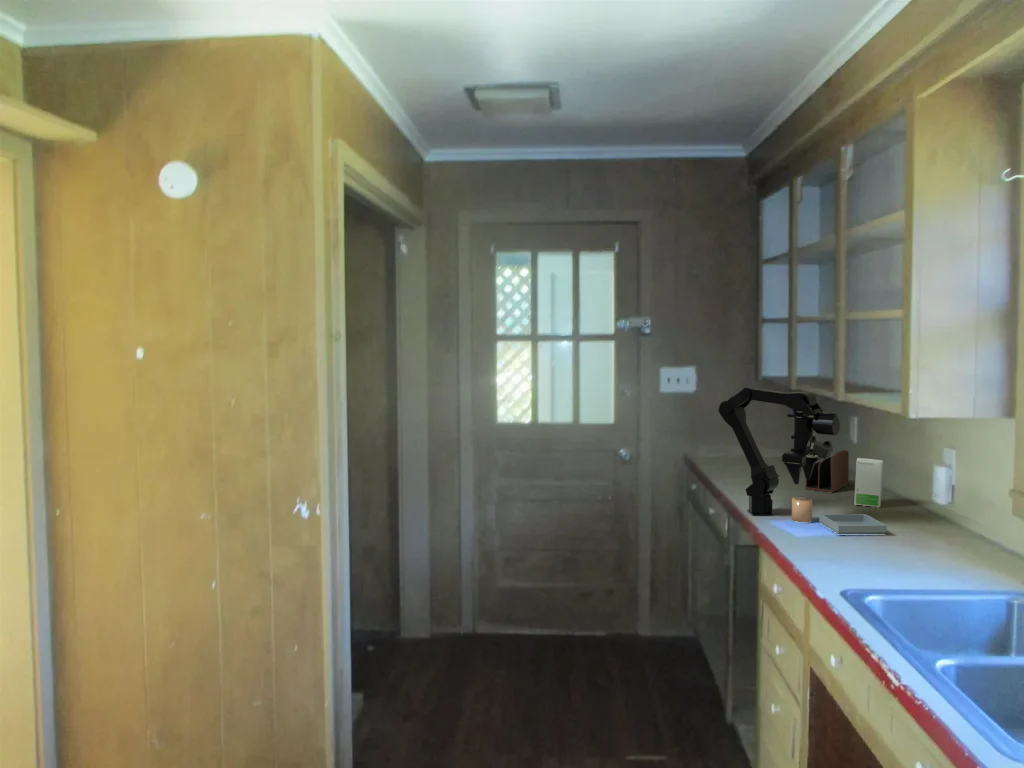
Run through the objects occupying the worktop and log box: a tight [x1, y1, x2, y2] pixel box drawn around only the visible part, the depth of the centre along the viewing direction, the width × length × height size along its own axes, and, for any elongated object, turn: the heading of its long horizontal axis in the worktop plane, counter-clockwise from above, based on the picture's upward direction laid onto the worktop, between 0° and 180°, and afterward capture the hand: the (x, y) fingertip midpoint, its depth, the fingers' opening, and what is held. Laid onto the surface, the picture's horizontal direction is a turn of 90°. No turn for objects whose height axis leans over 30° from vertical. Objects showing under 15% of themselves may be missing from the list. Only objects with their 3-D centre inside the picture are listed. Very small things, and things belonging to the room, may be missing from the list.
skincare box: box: [853, 457, 884, 508], centre depth 265 cm, size 8×7×16 cm
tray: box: [818, 513, 888, 535], centre depth 235 cm, size 14×14×3 cm
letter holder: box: [804, 450, 850, 493], centre depth 295 cm, size 10×20×14 cm, turn 141°
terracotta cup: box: [791, 496, 813, 522], centre depth 246 cm, size 6×6×7 cm
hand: (802, 481), depth 245 cm, fingers open, 9 cm apart
